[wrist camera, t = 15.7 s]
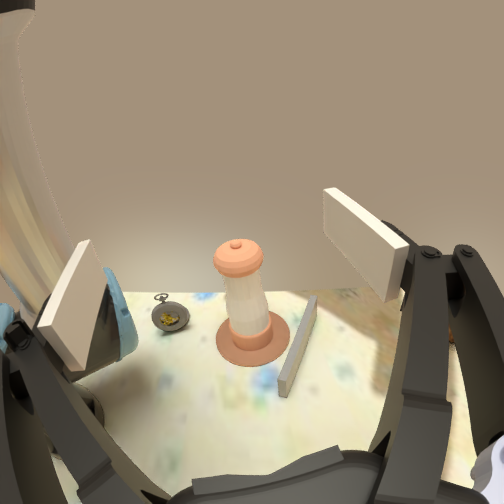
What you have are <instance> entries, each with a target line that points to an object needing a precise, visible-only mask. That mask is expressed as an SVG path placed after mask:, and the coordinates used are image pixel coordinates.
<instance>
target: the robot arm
mask: <svg viewBox="0 0 504 504" xmlns="http://www.w3.org/2000/svg"><path fill="white" fill-rule="evenodd" d="M34 16H35V0H0V274H1V275H2V277H3V278H4V280H5V281H6V283H7V284H8V285H9V287H10V288H11V289H12V291H13V292H14V294H15V295H16V296H17V298H18V299H19V300H20V311H19V312H17V313H15V312H14V309H13V308H12V307H11V306H9V305H8V304H7V303H0V504H68V502H67V500H66V498H65V495H64V493H63V490H62V488H61V485H60V482H59V480H58V477H57V474H56V471H55V468H54V465H53V462H52V459H51V455H52V456H54V457H55V458H57V459H60V460H63V462H64V463H65V465H66V467H67V468H68V470H69V471H70V473H71V474H72V476H73V477H74V479H75V480H76V482H77V484H78V485H79V489H78V490H77V495H78V497H79V499H80V500H81V502H82V503H83V504H504V297H503V295H502V293H501V292H500V290H499V288H498V286H497V284H496V282H495V280H494V279H493V277H492V275H491V273H490V272H489V270H488V268H487V267H486V265H485V263H484V262H483V260H482V258H481V257H480V255H479V254H478V252H477V251H476V250H475V249H474V248H472V247H471V246H468V245H457V246H455V249H454V252H453V255H442V253H441V252H440V251H439V250H438V249H436V248H434V247H431V246H418V245H417V244H416V243H415V242H414V241H412V240H411V239H410V238H409V237H407V236H406V235H405V234H404V233H403V232H401V231H400V230H398V229H397V228H396V227H395V226H394V225H392V224H390V223H388V222H385V221H383V220H382V221H380V220H378V219H377V218H376V217H374V216H373V215H372V214H370V213H369V212H368V211H366V210H365V209H364V208H363V207H361V206H360V205H359V204H357V203H356V202H355V201H353V200H352V199H350V198H349V197H348V196H346V195H345V194H343V193H342V192H341V191H339V190H338V189H337V188H329V189H324V190H323V208H324V209H323V215H324V219H323V223H324V224H323V233H324V234H325V235H326V236H327V237H328V238H329V239H330V240H331V241H332V243H333V244H334V245H335V246H336V247H337V248H338V249H339V250H340V251H341V253H342V254H343V255H344V256H345V257H346V258H347V259H348V260H349V262H350V263H351V264H352V265H353V266H354V267H355V269H356V270H357V271H358V272H359V273H360V274H361V276H362V277H363V278H364V279H365V280H366V281H367V283H368V284H369V285H370V286H371V287H372V289H373V290H374V291H375V292H376V293H377V295H378V296H379V297H380V298H381V299H382V301H383V302H384V303H385V302H387V301H390V300H393V299H396V298H398V294H399V290H400V287H401V288H402V289H403V290H404V291H405V295H404V299H403V302H402V306H401V309H400V311H402V316H401V323H400V330H399V336H398V343H397V348H396V354H395V359H394V364H393V369H392V374H391V379H390V383H389V387H388V392H387V396H386V400H385V404H384V407H383V411H382V415H381V418H380V422H379V425H378V428H377V431H376V434H375V436H374V438H373V440H372V442H371V445H370V447H369V450H368V452H367V451H360V450H343V451H340V449H339V447H338V445H336V446H333V447H330V448H327V449H325V450H322V451H319V452H316V453H313V454H310V455H306V456H303V457H301V458H300V459H298V460H296V461H294V462H293V463H291V464H289V465H287V466H285V467H283V468H281V469H279V470H277V471H276V472H274V473H272V474H269V475H229V474H227V475H220V476H213V477H206V478H197V479H192V485H193V486H191V487H188V488H186V489H184V490H182V491H180V492H179V493H177V494H176V495H174V496H173V497H171V496H170V495H168V494H167V493H166V492H165V491H163V490H162V489H160V488H159V487H158V486H156V485H155V484H154V483H153V482H152V481H151V480H150V479H149V478H148V477H147V476H146V475H145V474H144V473H143V472H142V471H141V470H140V469H139V468H138V467H137V466H136V465H135V464H134V463H133V462H132V461H131V460H130V459H129V458H128V457H127V455H126V454H125V453H124V452H123V451H122V450H121V449H120V447H119V446H118V445H117V444H116V443H115V442H114V440H113V439H112V438H111V437H110V436H109V434H108V433H107V432H106V431H105V429H104V428H103V427H104V415H103V410H102V407H101V405H100V403H99V401H98V400H97V399H96V398H95V397H94V396H93V395H92V393H91V392H90V391H89V390H87V389H86V388H85V387H83V386H81V385H79V384H77V383H75V382H76V381H78V380H80V379H82V378H84V377H86V376H88V375H90V374H92V373H94V372H96V371H98V370H100V369H102V368H104V367H106V366H108V365H110V364H112V363H114V362H118V361H120V360H121V359H122V358H123V357H124V356H126V355H128V354H130V353H131V352H133V351H134V350H135V349H136V348H137V346H138V334H137V331H136V328H135V325H134V322H133V319H132V316H131V314H130V312H129V310H128V307H127V304H126V301H125V298H124V296H123V293H122V291H121V288H120V286H119V284H118V282H117V280H116V277H115V275H114V273H113V272H112V270H111V269H110V268H107V267H105V268H102V266H101V263H100V261H99V259H98V256H97V254H96V251H95V249H94V247H93V244H92V242H91V239H90V240H86V241H82V242H79V244H78V245H77V247H76V249H75V248H74V245H73V243H72V241H71V239H70V237H69V234H68V232H67V230H66V227H65V225H64V223H63V220H62V218H61V216H60V213H59V211H58V208H57V206H56V203H55V200H54V198H53V195H52V192H51V190H50V187H49V184H48V181H47V178H46V175H45V172H44V169H43V166H42V163H41V160H40V156H39V153H38V149H37V146H36V143H35V139H34V135H33V131H32V127H31V123H30V118H29V114H28V110H27V104H26V99H25V94H24V89H23V82H22V76H21V69H20V61H19V51H18V41H19V38H20V36H21V34H22V33H23V31H24V30H25V29H26V27H27V26H28V25H29V23H30V22H31V21H32V19H33V18H34ZM449 325H450V328H451V332H452V335H453V339H454V342H455V346H456V350H457V354H458V358H459V362H460V366H461V371H462V376H463V380H464V385H465V391H466V396H467V402H468V408H469V415H470V423H471V431H472V437H473V443H474V447H475V451H476V455H477V459H476V462H475V466H474V467H473V468H472V470H471V473H470V476H471V478H472V479H473V480H474V481H475V482H474V486H473V488H472V489H470V488H466V487H463V486H460V485H456V484H453V483H450V482H447V481H444V480H441V479H440V478H441V474H442V470H443V466H444V461H445V456H446V451H447V446H448V440H449V434H450V427H451V419H452V404H451V402H448V401H447V400H446V392H447V380H448V361H449Z"/></svg>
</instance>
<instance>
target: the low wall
mask: <svg viewBox="0 0 504 504" xmlns="http://www.w3.org/2000/svg"><path fill="white" fill-rule="evenodd" d="M316 316H317V296H315V295H311V296H310V298H309V301H308V304H307V307H306V309H305V312H304V315H303V317H302V320H301V323H300V325H299V328H298V330H297V333H296V335H295V338H294V341H293V343H292V346H291V348H290V351H289V353H288V355H287V358H286V360H285V363H284V365H283V368H282V370H281V372H280V375H279V377H278V390H279V396H281V397H285V398H287V396H288V394H289V391H290V388H291V386H292V383H293V381H294V378H295V375H296V373H297V370H298V368H299V365H300V362H301V359H302V357H303V354H304V351H305V348H306V345H307V343H308V340H309V337H310V334H311V331H312V328H313V325H314V322H315V319H316Z"/></svg>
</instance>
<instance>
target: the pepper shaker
mask: <svg viewBox="0 0 504 504" xmlns="http://www.w3.org/2000/svg"><path fill="white" fill-rule="evenodd" d="M213 262H214V266H215V268H216V269H217V270H218V271H219V273H220V274H222V276H223V281H224V285H225V290H226V310H227V314H228V317H229V320H230V321H229V329H230V333H231V336H232V340H233V343H234V344H235V345H236V346H237V347H238V348H240V349H242V350H246V351H256V350H259V349H262V348H264V347H265V346H267V345H268V344H269V343H270V342H271V340H272V338H273V327H272V319H271V316H270V315H269V311H268V303H267V300H266V297H265V294H264V291H263V288H262V283H261V276H260V269H259V267H260V266H261V264H262V262H263V252H262V250H261V248H260V246H258V245H257V244H256V243H255V242H253V241H251V240H248V239H235V240H231V241H228V242H226V243H224V244H222V245H221V246H219V248H218V249H217V250H216V252H215V255H214V259H213Z"/></svg>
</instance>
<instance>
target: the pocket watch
mask: <svg viewBox="0 0 504 504" xmlns="http://www.w3.org/2000/svg"><path fill="white" fill-rule="evenodd" d="M163 294H164V295H167V296H166V297H163V296H160V298H159V299H156V297H157V296H159V295H163ZM167 297H168V294H166V293H162V294H158V295H156V296H155V297H154V299H155V300H159V301H162V303H161V304H159V305H157V306H156V307H155V308H154V309H153V311H152V314H151V315H152V321H153V323H154V325H155V326H156V327H158V328H159V329H161V330H165V331H173V330H177V329H179V328H181V327H182V326H184V325H185V324H186V323H187V321H188V319H189V311H188V310H187V308H185V307H184V306H182V305H181V304H179V303H176V302H169V301H168V302H165V301H164V300H166V298H167Z"/></svg>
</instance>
